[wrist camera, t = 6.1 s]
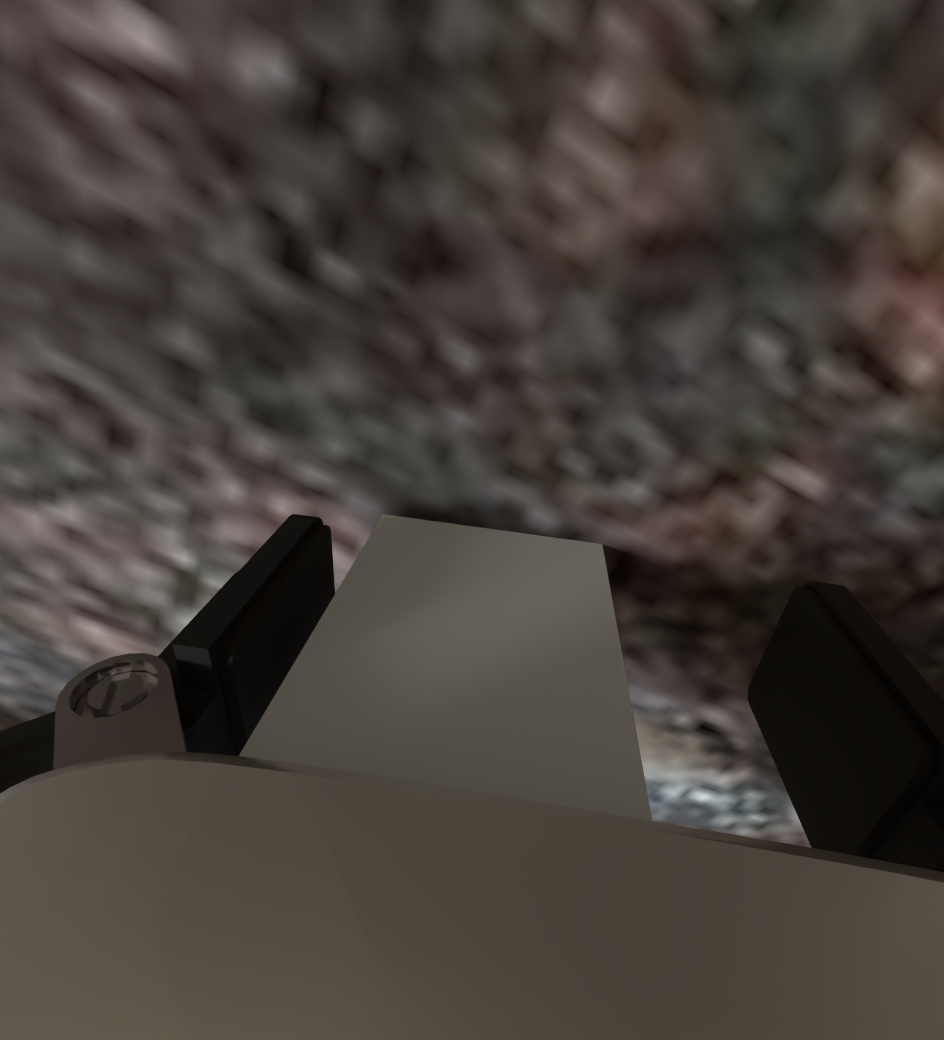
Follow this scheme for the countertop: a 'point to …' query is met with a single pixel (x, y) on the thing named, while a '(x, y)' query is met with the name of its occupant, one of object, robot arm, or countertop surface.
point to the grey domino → (467, 671)
